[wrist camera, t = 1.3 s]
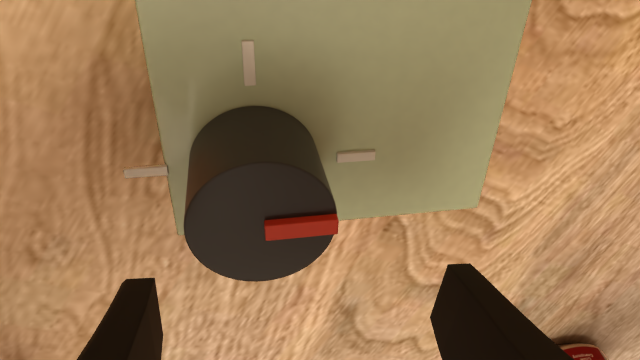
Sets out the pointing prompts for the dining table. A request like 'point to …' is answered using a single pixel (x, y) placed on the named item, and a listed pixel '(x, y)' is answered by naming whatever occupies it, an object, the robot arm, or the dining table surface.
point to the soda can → (583, 351)
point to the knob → (257, 196)
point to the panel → (342, 89)
